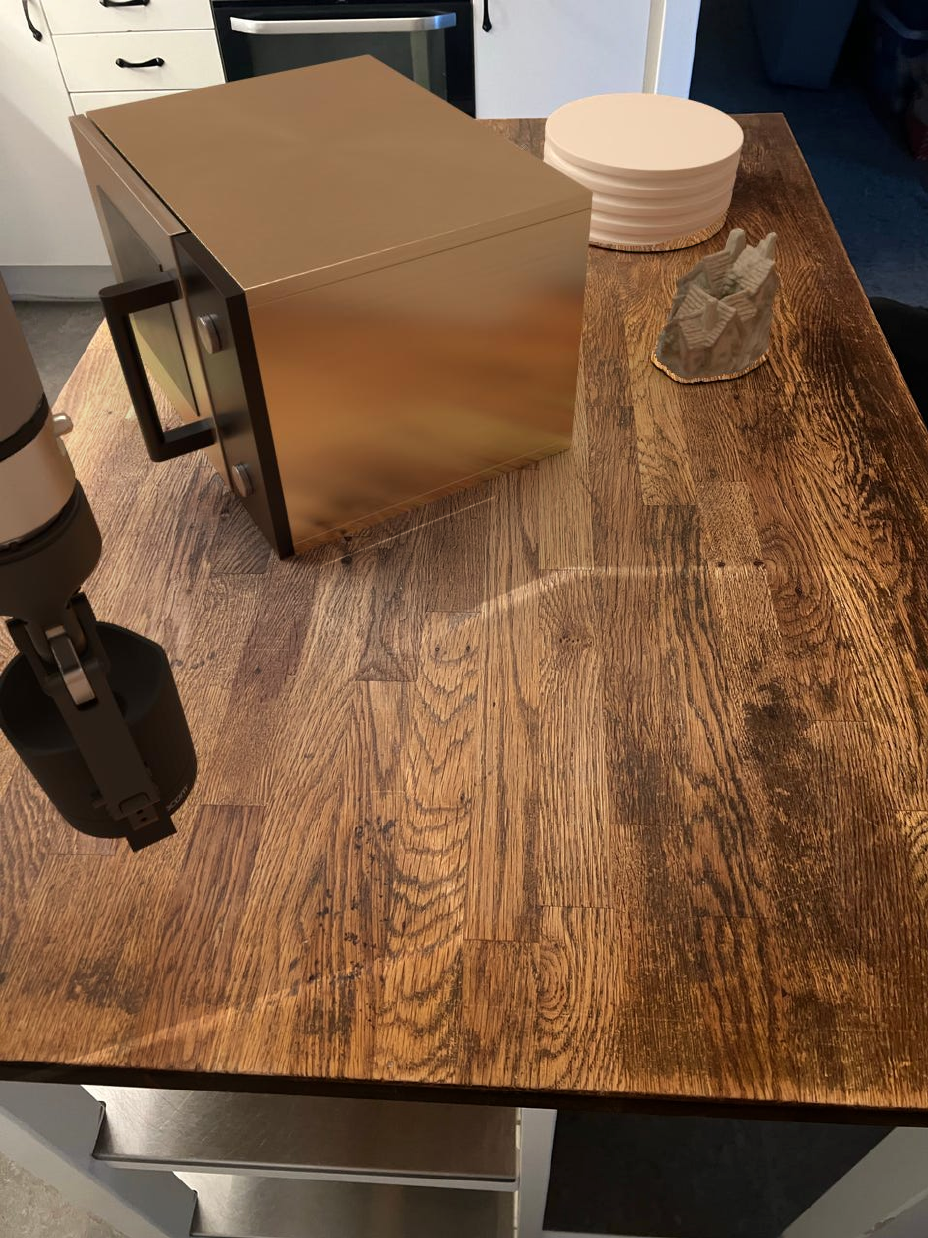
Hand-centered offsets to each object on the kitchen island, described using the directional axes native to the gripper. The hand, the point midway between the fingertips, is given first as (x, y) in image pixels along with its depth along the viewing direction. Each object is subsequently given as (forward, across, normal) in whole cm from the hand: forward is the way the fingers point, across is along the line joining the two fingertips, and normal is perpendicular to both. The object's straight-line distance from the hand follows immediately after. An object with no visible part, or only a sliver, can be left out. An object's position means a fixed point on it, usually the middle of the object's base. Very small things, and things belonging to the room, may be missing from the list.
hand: (129, 779), depth 60 cm
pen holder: (0, 0, 0) cm, 0 cm away
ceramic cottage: (+14, +37, -80) cm, 90 cm away
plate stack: (+14, +71, -97) cm, 121 cm away
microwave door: (+14, +56, -17) cm, 60 cm away
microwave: (+14, +50, -37) cm, 64 cm away
